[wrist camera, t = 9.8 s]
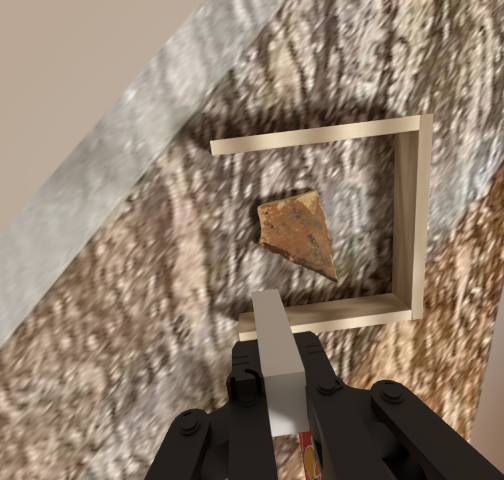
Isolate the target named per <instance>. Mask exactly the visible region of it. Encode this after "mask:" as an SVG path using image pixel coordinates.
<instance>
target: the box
mask: <svg viewBox="0 0 504 480" xmlns="http://www.w3.org/2000/svg"><path fill="white" fill-rule="evenodd" d="M432 128H433V114H426V115H418V116H410V117H402V118H394V119H386V120H377V121H369V122H361V123H353V124H345V125H337V126H328V127H320V128H312V129H304V130H296V131H288V132H279V133H271V134H263V135H255V136H247V137H239V138H230V139H222V140H214V141H210V144H211V151H212V155H214V156H216V155H224V154H232V153H240V152H248V151H256V150H264V149H272V148H280V147H288V146H297V145H305V144H313V143H321V142H329V141H337V140H345V139H353V138H361V137H370V136H378V135H386V134H394V133H395V171H394V220H393V269H392V293H387V294H380V295H372V296H365V297H357V298H350V299H342V300H335V301H328V302H320V303H313V304H305V305H298V306H290V307H284V309H285V312H286V315H287V318H288V321H289V324H290V327H291V330H292V333H298V332H305V331H311V332H313V333H318V332H325V331H333V330H340V329H348V328H355V327H362V326H370V325H377V324H384V323H392V322H399V321H406V320H414V319H421V318H422V312H423V293H424V275H425V257H426V238H427V220H428V202H429V183H430V165H431V147H432ZM239 336H240V341H246V340H253V339H257V332H256V324H255V316H254V311H253V312H245V313H239Z"/></svg>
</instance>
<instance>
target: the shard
mask: <svg viewBox="0 0 504 480" xmlns="http://www.w3.org/2000/svg"><path fill="white" fill-rule="evenodd" d="M257 209H258V215H259V218H260V224H261V236H260V238H259V242H258V246H259V247H262V248H264V249H266V250H269V251H270V252H272V253H274V254H277V255H279V256H281V257H282V258H284V259H287V260H289V261H291V262H293V263H294V264H296V265H298V266H301V267H303V268H305V269H307V270H310V271H312V272H315V273H318V274H320V275H323V276H324V277H327V278H328V279H329V280H331V281H334V282H336V283H337V282H338V281H337V277H336V272H335V267H334V264H333V262H332V255H331V246H330V240H329V236H328V228H327V224H326V221H325V216H324V212H323V208H322V206H321V205H320V198H319V195H318V193H317V191H316V190H312V191H308V192H306V193H303V194H299V195H296V196H293V197H289V198H286V199H281V200H275V201H272V202H266V203H264V204H262V205H260V206H258V208H257Z"/></svg>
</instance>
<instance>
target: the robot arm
mask: <svg viewBox="0 0 504 480" xmlns="http://www.w3.org/2000/svg"><path fill="white" fill-rule="evenodd" d="M251 293H252V301H253V309H254V316H255V324H256V332H257V339H253V340H246V341H239V342H236V344H235V345H234V347H233V349H232V372H231V374H230V375H229V376H228V378H227V381H226V385H227V391H228V396H229V400H228V402H227V403H226V404H225V405H224V406H223V407H221V408H220V409H218V410H216V411H214V412H212V413H209V414H207V413H206V412H205V411H204V410H201V409H197V408H196V409H189V410H187V411H184V412H182V413H181V414H180V415H178V416H177V417H176V418H175V419H174V421H173V422H172V424H171V426H170V428H169V430H168V432H167V434H166V436H165V438H164V440H163V442H162V444H161V446H160V448H159V450H158V452H157V454H156V456H155V458H154V461H153V463H152V465H151V467H150V469H149V471H148V473H147V475H146V477H145V479H144V480H225V479H227V478H228V480H278V476H277V469H276V462H275V454H274V447H273V440H272V437H273V436H280V435H287V434H293V433H300V432H307V431H310V428H311V431H312V436H313V449H314V461H318V465H319V468H320V472H321V476H322V479H323V480H504V475H503V474H502V473H501V472H500V471H499V470H498V469H497V468H496V467H494V466H493V465H492V464H491V463H490V462H489V461H488V460H487V459H485V458H484V457H483V456H482V455H481V454H480V453H479V452H478V451H477V450H476V449H474V448H473V447H472V446H471V445H470V444H469V443H468V442H467V441H466V440H465V439H463V438H462V437H461V436H460V435H459V434H458V433H457V432H456V431H455V430H453V429H452V428H451V427H450V426H449V425H448V424H447V423H446V422H445V421H443V420H442V419H441V418H440V417H439V416H438V415H437V414H436V413H435V412H433V411H432V410H431V409H430V408H429V407H428V406H427V405H426V404H425V403H423V402H422V401H421V400H420V399H419V398H418V397H417V396H416V395H415V394H413V393H412V392H411V391H410V390H409V389H408V388H407V387H405V386H404V385H402V384H401V383H398V382H395V381H392V380H381V381H377V382H376V383H374V384H373V385H372V387H371V390H365V389H357V388H353V387H350V386H347V385H346V384H345V383H344V382H343V381H342V379H340V378H338V377H337V376H336V374H335V372H334V370H333V368H332V366H331V364H330V362H329V360H328V357H327V355H326V353H325V352H324V349H323V347H322V345H321V342H320V340H319V338H318V336H316V335H315V334H314V333H313V332H311V331H305V332H298V333H292V330H291V327H290V324H289V321H288V318H287V315H286V312H285V309H284V306H283V303H282V300H281V297H280V294H279V291H278V289H271V290H264V291H257V292H251ZM309 424H310V427H309Z"/></svg>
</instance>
